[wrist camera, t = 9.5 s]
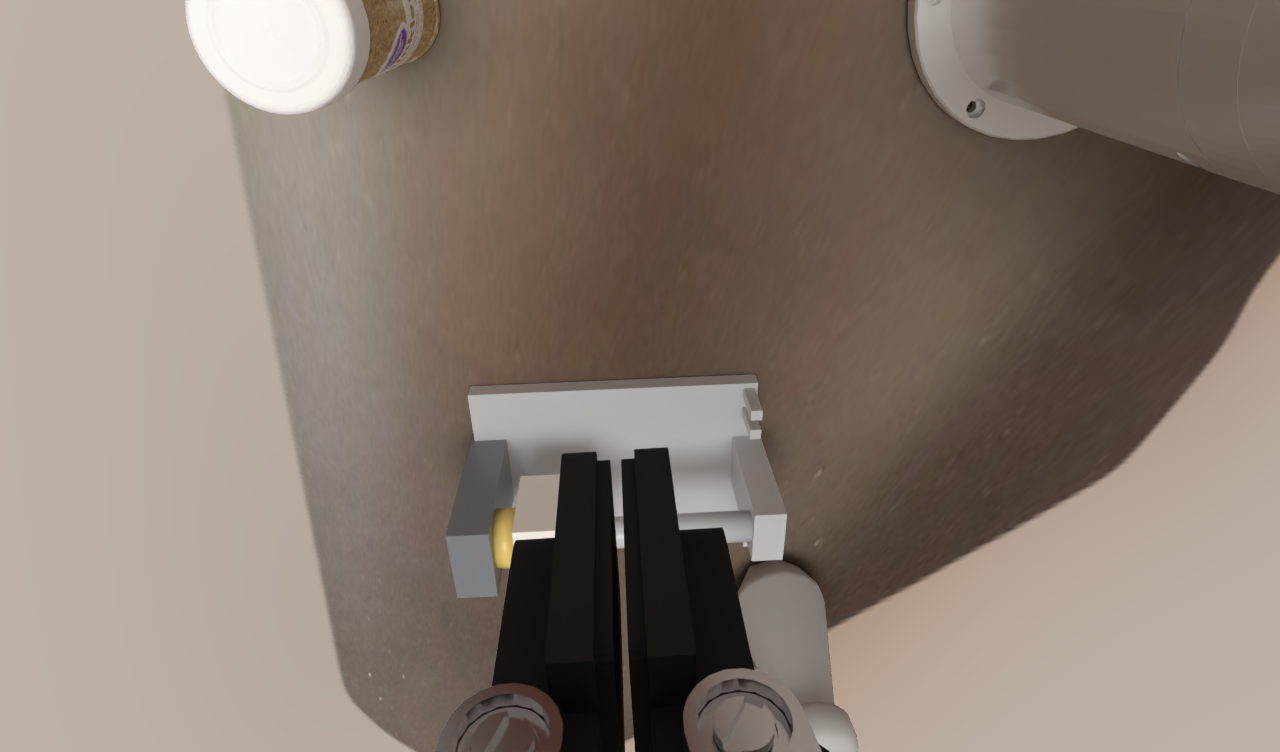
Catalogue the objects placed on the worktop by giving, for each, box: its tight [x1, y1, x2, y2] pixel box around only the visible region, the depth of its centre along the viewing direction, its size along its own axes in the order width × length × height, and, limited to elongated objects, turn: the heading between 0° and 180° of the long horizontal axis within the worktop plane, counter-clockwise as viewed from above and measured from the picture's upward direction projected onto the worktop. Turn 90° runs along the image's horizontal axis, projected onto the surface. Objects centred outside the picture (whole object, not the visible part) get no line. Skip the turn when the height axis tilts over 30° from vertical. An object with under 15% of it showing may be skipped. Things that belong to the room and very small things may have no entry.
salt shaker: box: [738, 560, 858, 752], centre depth 44 cm, size 6×6×13 cm
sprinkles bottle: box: [185, 0, 440, 115], centre depth 26 cm, size 5×4×14 cm
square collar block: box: [512, 474, 560, 545], centre depth 36 cm, size 4×4×9 cm
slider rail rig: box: [446, 374, 787, 598], centre depth 40 cm, size 16×10×9 cm, turn 91°
